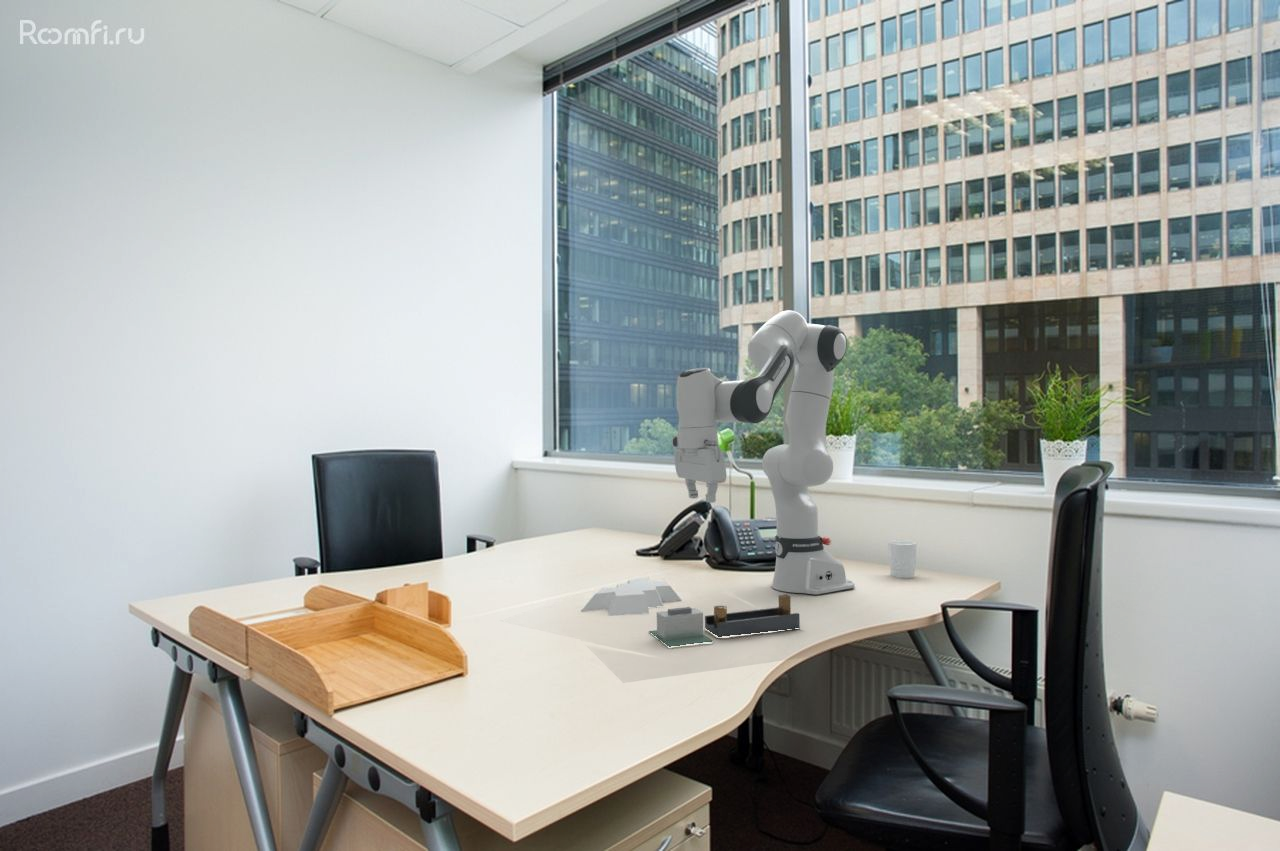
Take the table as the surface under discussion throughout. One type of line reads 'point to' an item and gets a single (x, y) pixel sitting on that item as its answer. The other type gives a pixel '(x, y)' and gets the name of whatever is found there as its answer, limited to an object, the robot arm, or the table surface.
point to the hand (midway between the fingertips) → (702, 500)
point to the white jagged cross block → (632, 597)
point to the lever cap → (679, 623)
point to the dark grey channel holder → (752, 620)
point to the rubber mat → (683, 640)
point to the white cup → (902, 558)
